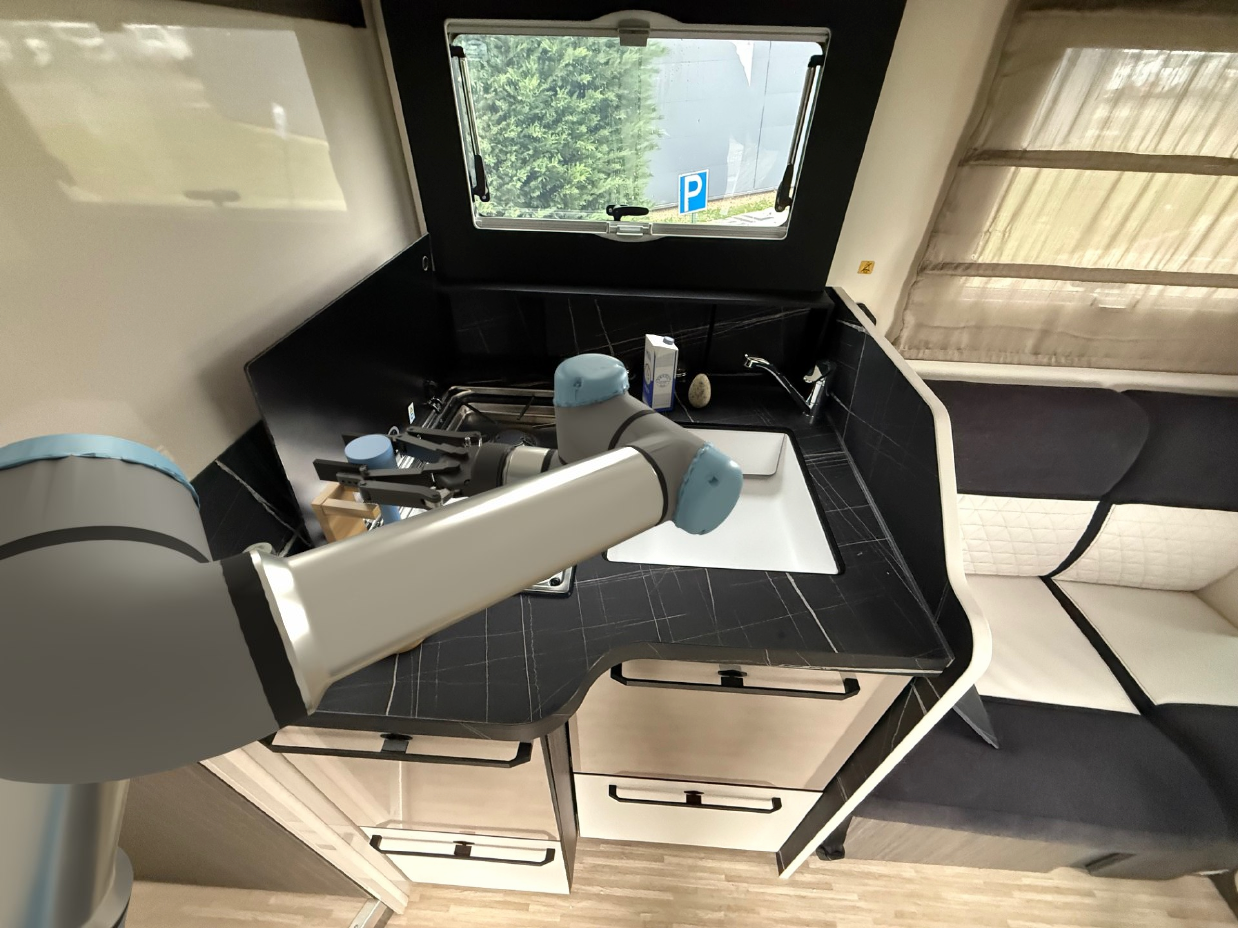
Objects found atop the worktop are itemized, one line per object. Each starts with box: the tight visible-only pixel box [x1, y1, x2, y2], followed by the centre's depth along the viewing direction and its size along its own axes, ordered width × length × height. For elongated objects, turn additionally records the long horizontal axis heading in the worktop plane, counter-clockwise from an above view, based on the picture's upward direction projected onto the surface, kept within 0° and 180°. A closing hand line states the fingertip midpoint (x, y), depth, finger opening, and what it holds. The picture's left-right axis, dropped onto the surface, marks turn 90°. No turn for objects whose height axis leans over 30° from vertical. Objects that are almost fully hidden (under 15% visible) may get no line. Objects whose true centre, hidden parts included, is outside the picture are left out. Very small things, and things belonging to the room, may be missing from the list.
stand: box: [310, 481, 426, 655], centre depth 77 cm, size 10×9×30 cm
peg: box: [344, 434, 403, 525], centre depth 68 cm, size 5×5×18 cm
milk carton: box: [641, 334, 679, 413], centre depth 139 cm, size 7×7×20 cm
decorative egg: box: [688, 373, 712, 409], centre depth 142 cm, size 6×6×10 cm
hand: (332, 455), depth 65 cm, fingers closed on peg, 5 cm apart
